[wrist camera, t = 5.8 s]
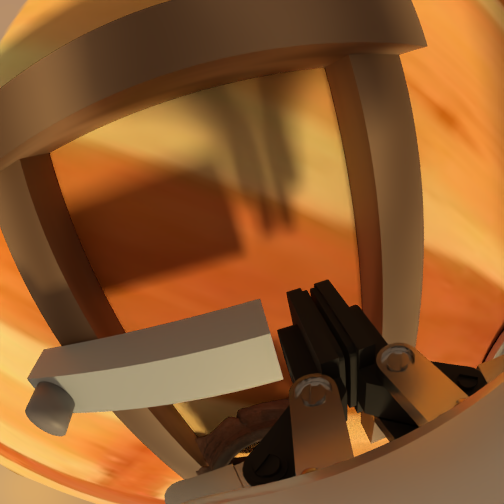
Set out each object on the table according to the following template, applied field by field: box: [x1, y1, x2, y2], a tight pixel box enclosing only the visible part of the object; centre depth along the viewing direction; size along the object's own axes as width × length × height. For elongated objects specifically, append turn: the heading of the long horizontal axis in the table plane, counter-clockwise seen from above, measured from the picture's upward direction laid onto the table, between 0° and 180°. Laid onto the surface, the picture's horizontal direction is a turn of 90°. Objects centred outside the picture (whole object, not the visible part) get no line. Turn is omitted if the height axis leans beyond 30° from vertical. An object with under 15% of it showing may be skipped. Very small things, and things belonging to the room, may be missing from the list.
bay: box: [0, 0, 427, 479], centre depth 13 cm, size 18×28×4 cm, turn 14°
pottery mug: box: [195, 398, 290, 475], centre depth 17 cm, size 12×10×8 cm
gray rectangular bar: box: [25, 299, 283, 436], centre depth 10 cm, size 11×2×4 cm, turn 104°
